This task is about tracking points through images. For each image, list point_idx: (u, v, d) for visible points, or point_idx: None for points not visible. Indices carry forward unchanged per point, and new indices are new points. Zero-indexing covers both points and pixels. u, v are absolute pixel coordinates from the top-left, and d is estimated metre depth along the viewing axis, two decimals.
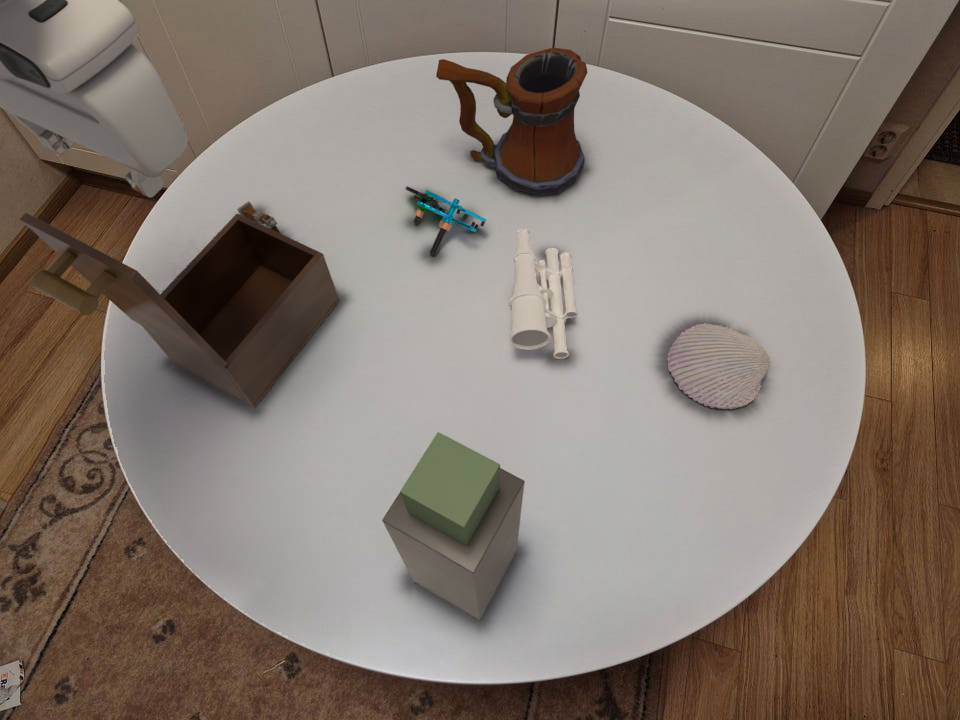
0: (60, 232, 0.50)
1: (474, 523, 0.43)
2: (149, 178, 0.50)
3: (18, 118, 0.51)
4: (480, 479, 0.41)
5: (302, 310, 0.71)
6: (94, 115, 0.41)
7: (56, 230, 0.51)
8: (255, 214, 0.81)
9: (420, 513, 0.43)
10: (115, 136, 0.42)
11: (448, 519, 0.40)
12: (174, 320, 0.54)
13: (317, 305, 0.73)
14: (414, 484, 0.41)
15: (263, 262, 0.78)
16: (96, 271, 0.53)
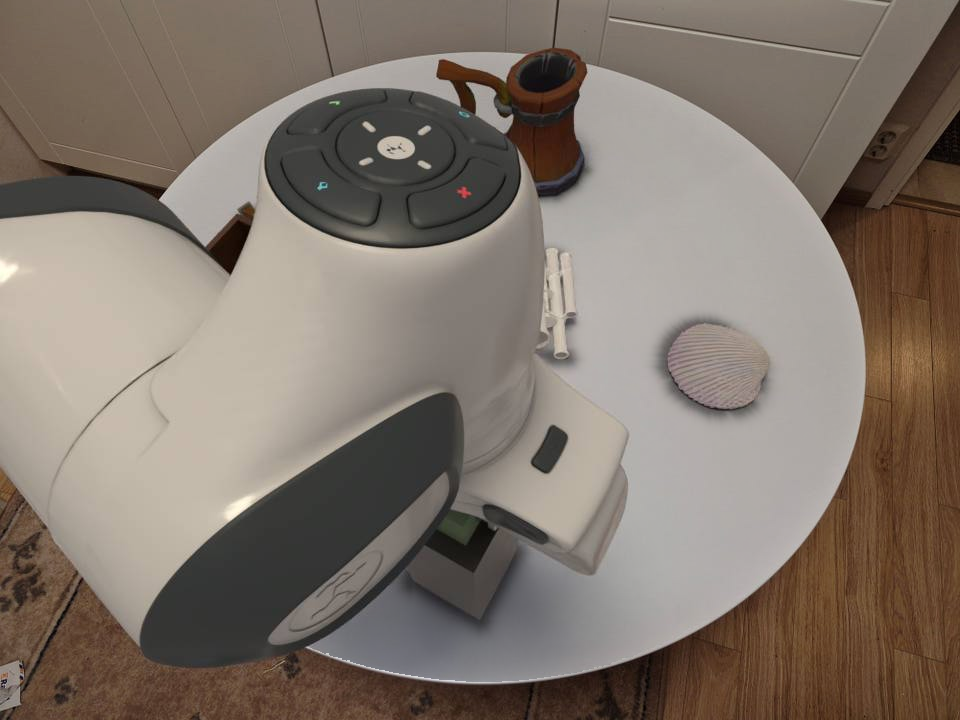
0: None
1: (473, 523, 0.43)
2: None
3: None
4: None
5: None
6: (573, 554, 0.32)
7: None
8: None
9: None
10: (580, 564, 0.33)
11: (447, 519, 0.40)
12: None
13: None
14: None
15: None
16: None
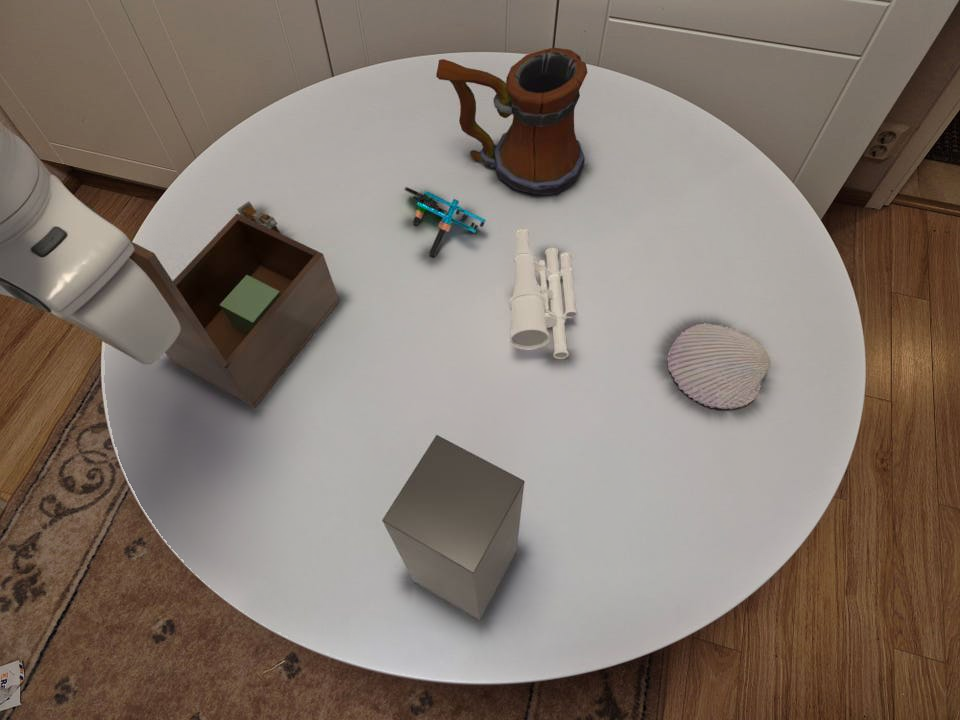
0: None
1: None
2: None
3: None
4: (266, 298, 0.71)
5: (302, 310, 0.71)
6: (92, 329, 0.44)
7: None
8: (255, 214, 0.81)
9: (236, 322, 0.73)
10: (112, 342, 0.45)
11: (245, 319, 0.70)
12: (183, 310, 0.55)
13: (317, 305, 0.73)
14: (228, 301, 0.71)
15: (263, 262, 0.78)
16: None
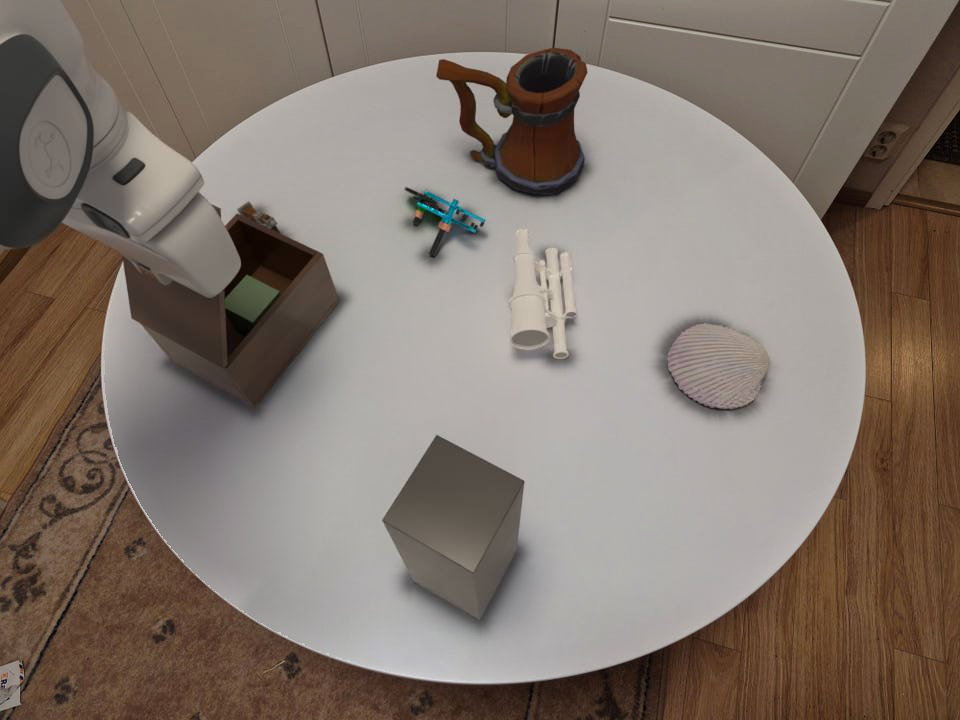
0: None
1: None
2: None
3: None
4: (266, 298, 0.71)
5: (302, 310, 0.71)
6: (165, 257, 0.46)
7: None
8: (255, 214, 0.81)
9: (236, 322, 0.73)
10: (181, 271, 0.48)
11: (245, 319, 0.70)
12: None
13: (317, 305, 0.73)
14: (228, 301, 0.71)
15: (263, 262, 0.78)
16: None
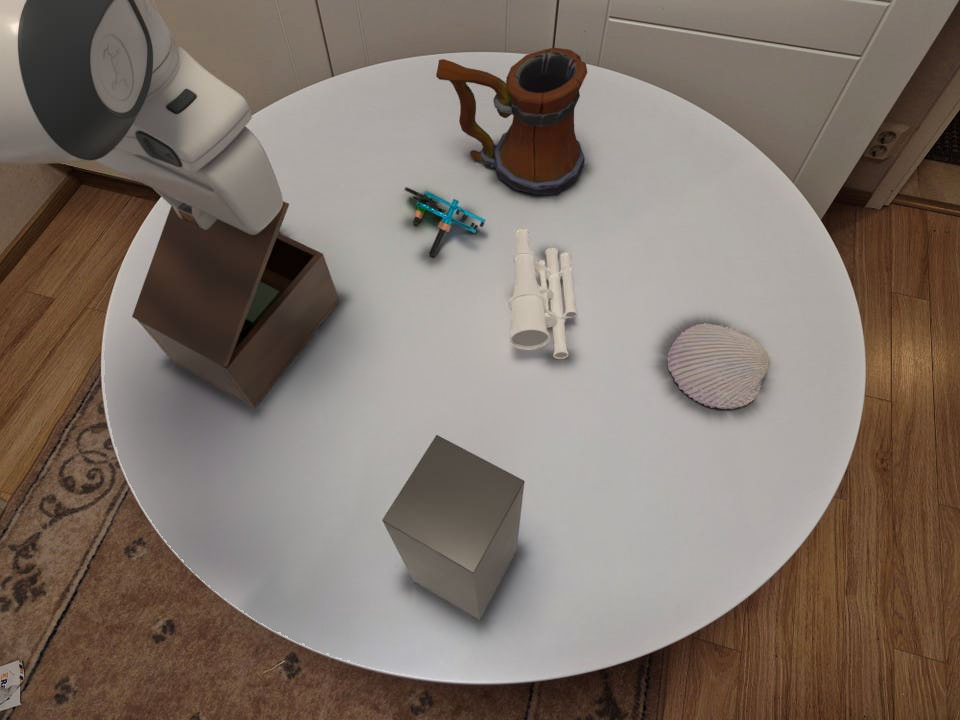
0: None
1: None
2: (206, 213, 0.58)
3: (161, 194, 0.57)
4: (266, 298, 0.71)
5: (302, 310, 0.71)
6: (214, 188, 0.48)
7: None
8: None
9: None
10: (229, 204, 0.49)
11: (245, 319, 0.70)
12: (259, 270, 0.61)
13: (317, 305, 0.73)
14: None
15: None
16: None
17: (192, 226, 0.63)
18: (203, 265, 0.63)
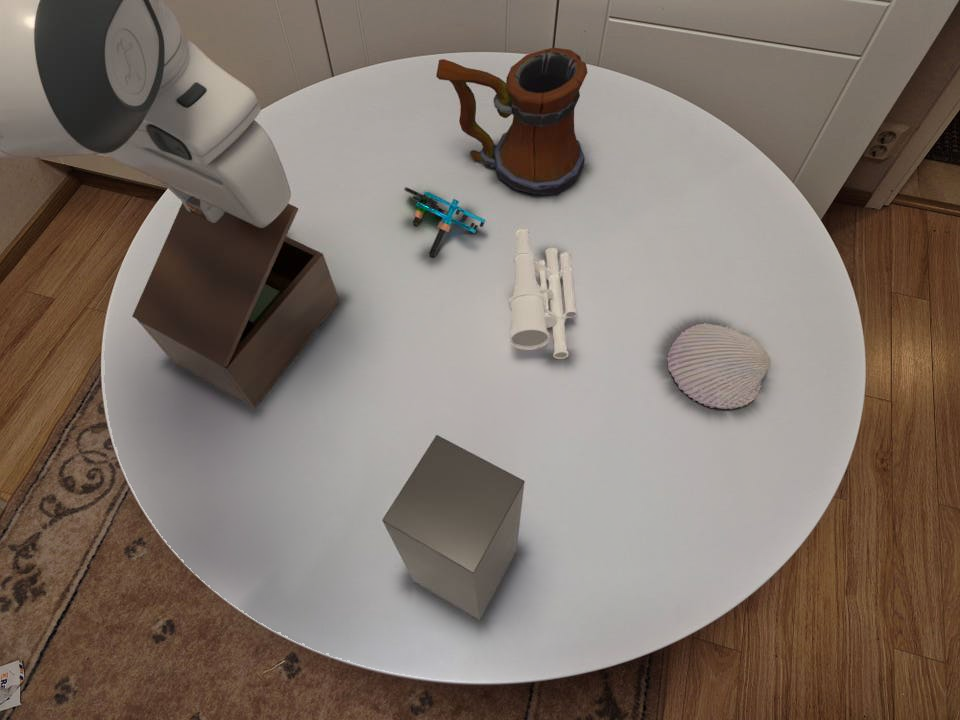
0: None
1: None
2: (214, 207, 0.59)
3: (170, 187, 0.58)
4: (266, 298, 0.71)
5: (302, 310, 0.71)
6: (223, 181, 0.48)
7: None
8: None
9: None
10: (238, 197, 0.49)
11: None
12: (265, 271, 0.62)
13: (317, 305, 0.73)
14: None
15: None
16: (225, 217, 0.64)
17: (200, 228, 0.64)
18: (209, 266, 0.64)
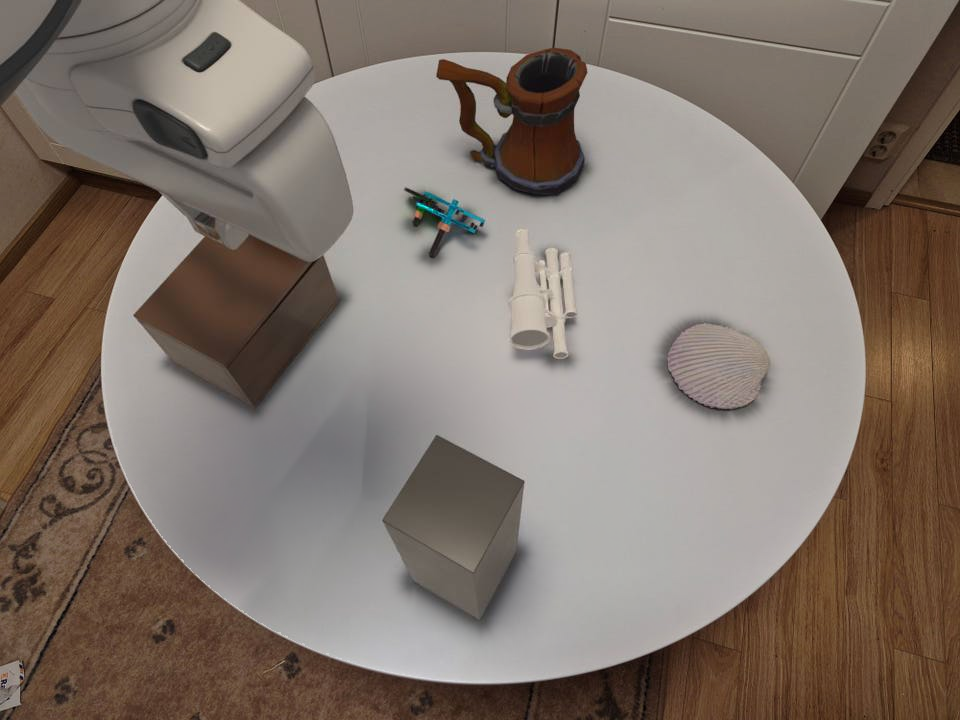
0: None
1: None
2: (234, 227, 0.41)
3: (171, 199, 0.40)
4: None
5: (302, 310, 0.71)
6: (257, 192, 0.30)
7: None
8: None
9: None
10: (278, 217, 0.32)
11: None
12: (286, 288, 0.67)
13: (317, 305, 0.73)
14: None
15: None
16: (254, 242, 0.69)
17: (226, 248, 0.69)
18: (228, 279, 0.67)
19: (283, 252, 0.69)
